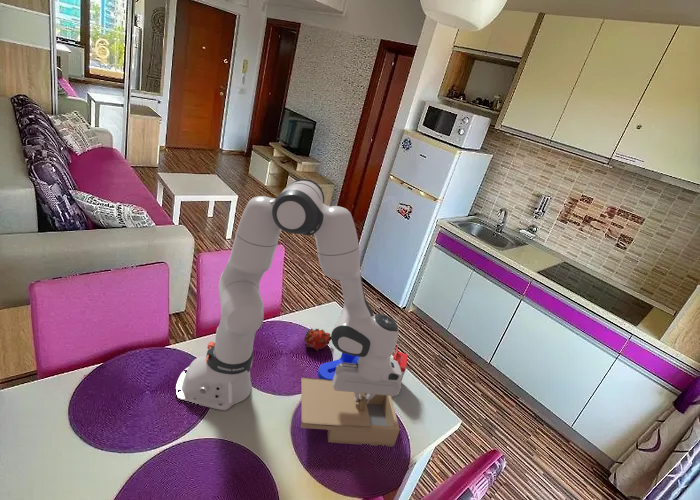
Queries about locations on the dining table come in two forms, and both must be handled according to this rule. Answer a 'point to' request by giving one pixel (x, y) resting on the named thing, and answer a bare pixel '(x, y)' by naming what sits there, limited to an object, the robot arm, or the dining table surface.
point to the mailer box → (373, 425)
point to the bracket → (331, 366)
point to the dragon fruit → (317, 339)
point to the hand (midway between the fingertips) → (361, 401)
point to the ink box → (401, 360)
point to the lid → (332, 407)
